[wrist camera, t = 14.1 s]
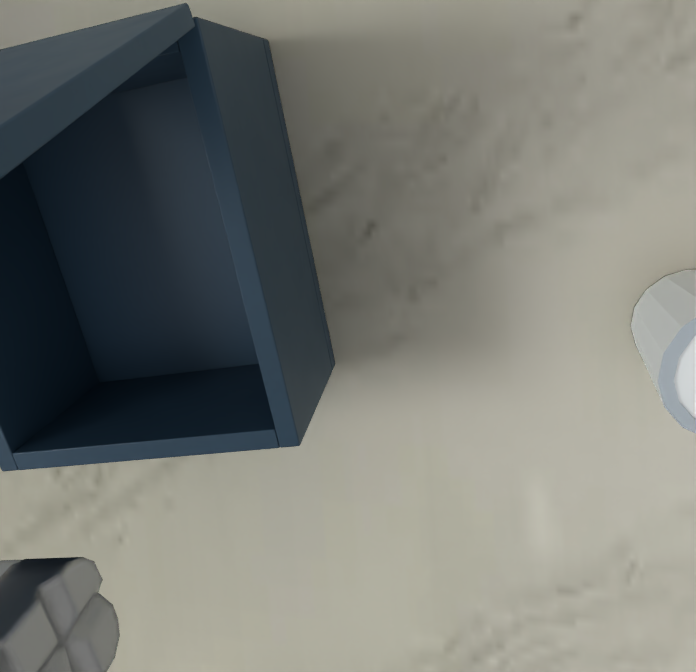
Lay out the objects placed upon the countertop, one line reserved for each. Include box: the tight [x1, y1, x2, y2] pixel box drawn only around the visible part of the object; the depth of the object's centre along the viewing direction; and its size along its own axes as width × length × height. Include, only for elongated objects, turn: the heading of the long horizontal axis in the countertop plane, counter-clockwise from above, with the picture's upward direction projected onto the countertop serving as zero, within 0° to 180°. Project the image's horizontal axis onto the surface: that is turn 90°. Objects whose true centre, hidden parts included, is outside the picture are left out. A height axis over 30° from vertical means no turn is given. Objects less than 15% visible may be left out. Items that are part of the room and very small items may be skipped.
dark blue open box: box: [0, 17, 335, 471], centre depth 31 cm, size 18×16×10 cm
